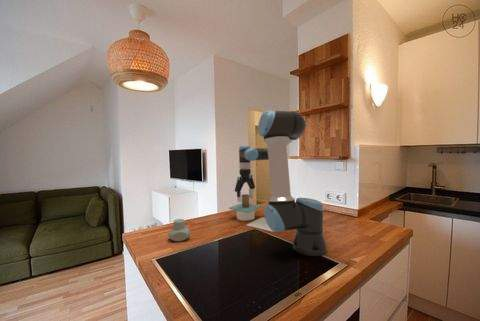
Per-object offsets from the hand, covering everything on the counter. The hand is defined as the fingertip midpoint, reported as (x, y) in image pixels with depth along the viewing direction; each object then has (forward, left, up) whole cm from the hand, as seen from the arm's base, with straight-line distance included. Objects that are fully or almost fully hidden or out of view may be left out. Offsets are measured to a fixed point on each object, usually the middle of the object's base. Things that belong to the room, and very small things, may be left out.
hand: (245, 200), depth 146 cm
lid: (0, 0, -6) cm, 6 cm away
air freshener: (-48, +8, -13) cm, 50 cm away
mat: (-2, -18, -13) cm, 22 cm away
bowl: (0, 0, -13) cm, 13 cm away
